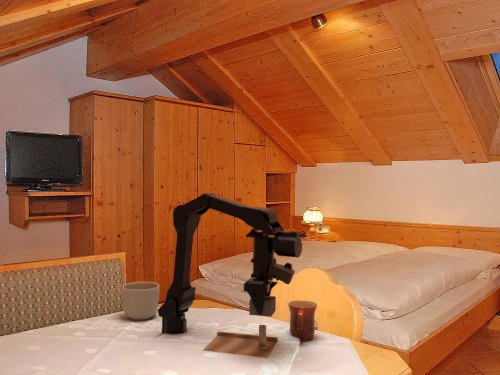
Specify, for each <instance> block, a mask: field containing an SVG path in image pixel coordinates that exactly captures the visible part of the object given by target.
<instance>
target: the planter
mask: <svg viewBox="0 0 500 375" xmlns="http://www.w3.org/2000/svg"><path fill="white" fill-rule="evenodd" d="M121 296H122V309H123V313H124V315H125V316H126V317H127V318H128V319H130V320H132V321H143V320H144V321H146V320H149V319H151V318H153V317H154V316H155V315H156V314H157V313H158V309H159V308H158V307H159V302H160V300H159V298H160V284H159V283H157V282H154V281H153V282H152V281H136V282H129V283H125V284H123V285H121Z"/></svg>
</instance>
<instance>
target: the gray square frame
mask: <svg viewBox="0 0 500 375" xmlns="http://www.w3.org/2000/svg"><path fill="white" fill-rule="evenodd" d="M276 298H277V296H275V295H274V296H273V295H270V296H265V301H264V307H263V312H262V315H258V314H257V311H256V309H255V307H254V304H253V302H252V300H251V298H250V299H249V304H248V305H249V308H248V309H249V310H248V311H249V312H248V313H249V314H248V315H249V316H258V317H271V318H272V316H273V315H274V314H275V312H276V307H277V305H276V304H277V303H276V302H277V299H276Z"/></svg>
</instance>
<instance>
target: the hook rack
mask: <svg viewBox="0 0 500 375" xmlns="http://www.w3.org/2000/svg"><path fill="white" fill-rule="evenodd" d="M278 341H279V340H278V337H277V336H276V337H275V336H268V335H267V325H265V324H259V325H258V335H257V334H256V335H255V334H250V333H249V334H248V333H246V334H245V333H239V332H238V333H236V332H228V331H217V332H216V336H215V337H214V338H213V339H212V340H211V341H210V342H209V343H208V344H207V345H206V346H205V347H204V348H203V349H202V351H203V352H214V353H220V354H221V353H222V354H232V355H239V356H246V357H247V356H250V357H258V358H266V359H268V358H269V357H270V355H271V353H272V351H273V350H274V349H275V346H276V345H277V343H278Z"/></svg>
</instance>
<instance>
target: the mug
mask: <svg viewBox="0 0 500 375" xmlns="http://www.w3.org/2000/svg"><path fill="white" fill-rule="evenodd" d="M287 305H288V308H289V315H290V316H289V317H290V319H289V333H290V335H291V336H292V337H294V338H297V339H299V342H308V340H309V341H311V340H312V339H314V337H315V331H316V330H315V327H316V326H315V324H316V323H315V315H316V310H317V307H318V303H316V302H314V301H312V300H305V299H304V300H302V299H299V300H291V301H289V302H288V303H287Z"/></svg>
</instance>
